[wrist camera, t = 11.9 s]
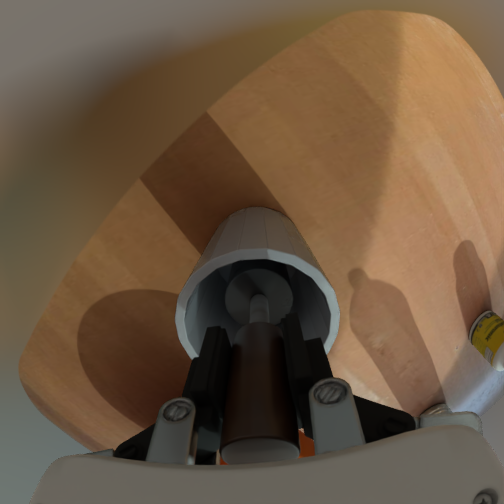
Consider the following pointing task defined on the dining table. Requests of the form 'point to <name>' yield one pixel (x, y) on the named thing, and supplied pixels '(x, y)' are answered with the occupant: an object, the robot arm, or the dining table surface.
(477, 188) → the dining table surface
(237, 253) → the grey utensil holder
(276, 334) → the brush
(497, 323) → the supplement bottle
